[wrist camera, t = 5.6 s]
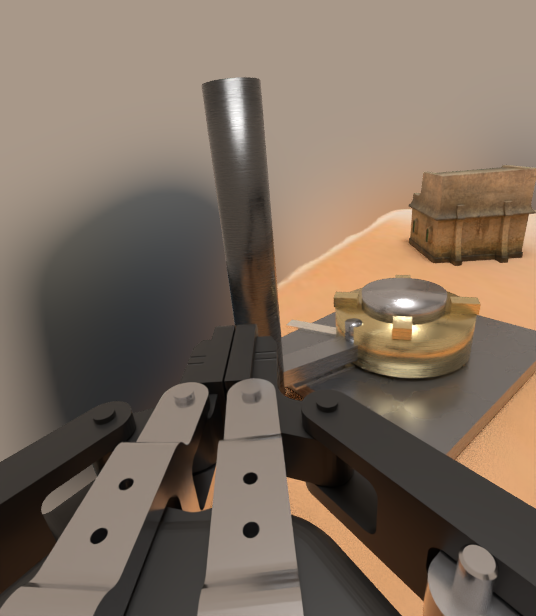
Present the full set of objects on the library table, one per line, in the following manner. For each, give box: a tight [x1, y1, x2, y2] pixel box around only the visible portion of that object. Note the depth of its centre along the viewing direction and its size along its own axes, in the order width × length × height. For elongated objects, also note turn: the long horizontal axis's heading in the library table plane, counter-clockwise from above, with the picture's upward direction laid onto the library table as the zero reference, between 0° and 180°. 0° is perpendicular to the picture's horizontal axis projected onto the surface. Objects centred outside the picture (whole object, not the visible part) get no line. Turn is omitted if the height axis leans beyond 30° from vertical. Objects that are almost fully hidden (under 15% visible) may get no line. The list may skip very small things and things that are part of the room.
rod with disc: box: [202, 78, 480, 395], centre depth 24 cm, size 18×10×18 cm, turn 116°
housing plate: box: [281, 312, 536, 459], centre depth 30 cm, size 19×18×1 cm
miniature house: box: [409, 165, 536, 266], centre depth 53 cm, size 15×14×11 cm
